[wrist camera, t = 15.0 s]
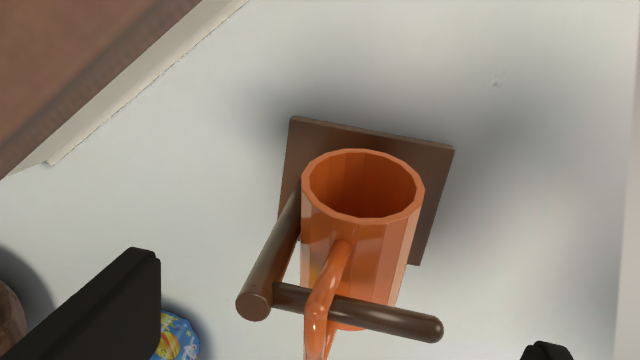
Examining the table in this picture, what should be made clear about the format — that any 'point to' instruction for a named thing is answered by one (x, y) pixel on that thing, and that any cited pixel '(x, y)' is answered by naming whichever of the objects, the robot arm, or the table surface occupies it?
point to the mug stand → (274, 258)
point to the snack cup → (176, 339)
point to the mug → (353, 235)
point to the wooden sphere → (10, 319)
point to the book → (85, 65)
